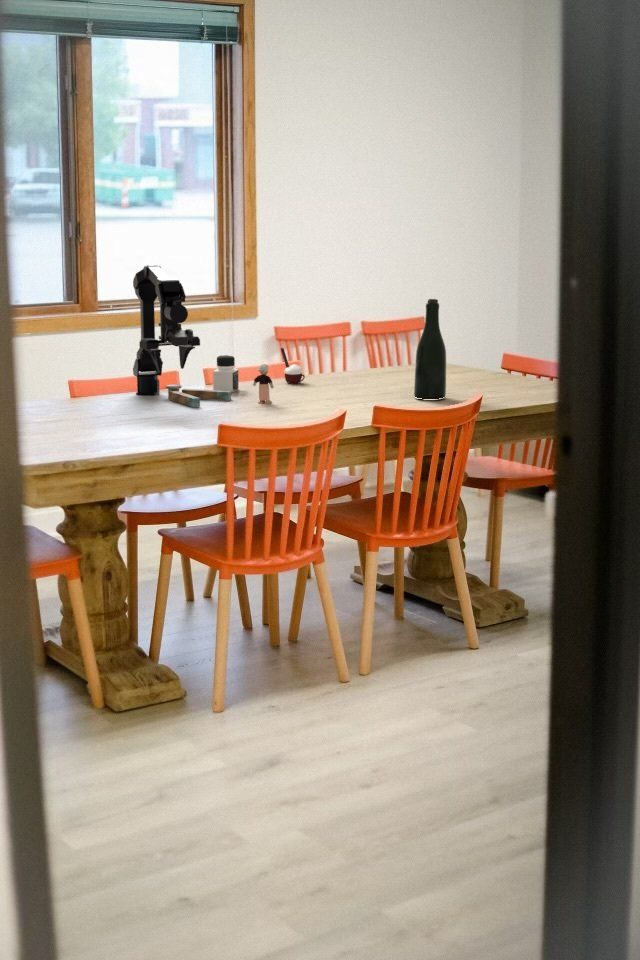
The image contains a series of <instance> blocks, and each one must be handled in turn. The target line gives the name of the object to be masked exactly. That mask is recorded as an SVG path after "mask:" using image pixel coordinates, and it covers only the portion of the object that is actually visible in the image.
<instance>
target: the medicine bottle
mask: <svg viewBox="0 0 640 960" xmlns="http://www.w3.org/2000/svg"><path fill="white" fill-rule="evenodd" d="M235 366H236V365H235V357H234V355H228V354H225V355H223V354H222V355H218V356H217V357H216V368H217V369H215V370H213V372H212V383H213V384H212V385H213V386H212V387H213V389H212V390H219V391H231V394H232V393H234V392H236V391H238V390H239V369H238V368H235Z"/></svg>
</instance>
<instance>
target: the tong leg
mask: <svg viewBox="0 0 640 960" xmlns="http://www.w3.org/2000/svg"><path fill="white" fill-rule="evenodd" d="M168 400H169V401H172V402H176V403H178V404H181V405H185V406H188V407H191V408H200V407H201V399H200V398H198V397H195V396H192V395H189V394H185V393H182V391H180V390H179V391H169V398H168Z"/></svg>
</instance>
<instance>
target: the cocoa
mask: <svg viewBox="0 0 640 960" xmlns="http://www.w3.org/2000/svg"><path fill="white" fill-rule="evenodd" d="M280 351H281V356H282V359H283V362H284V364H285V367H286V368H285V369H284V371H283V372H284V379H285V381H286V383H287V384H291V385H297V384H299V383H301V382H303V381H304V380H305V377H306V376H305V374H303V369H302V368H301V366H300V365H298V364H292V365H289V362H288V359H287V358H288V357H287V356H286V355H287V354H286V351H285V347H284V348H283V347H281V348H280Z"/></svg>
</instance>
